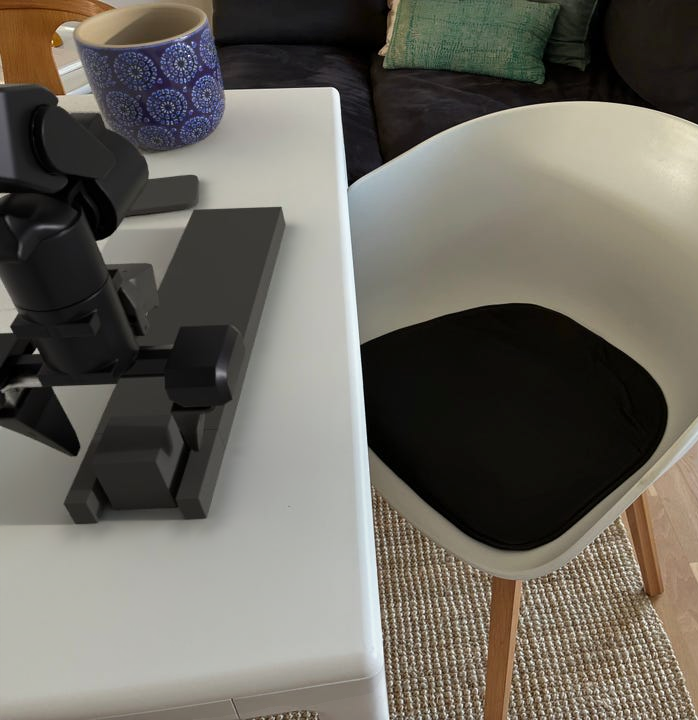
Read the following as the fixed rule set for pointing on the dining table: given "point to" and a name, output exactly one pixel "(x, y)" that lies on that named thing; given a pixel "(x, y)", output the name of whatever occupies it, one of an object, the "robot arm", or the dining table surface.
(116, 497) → the pad block
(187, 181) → the phone
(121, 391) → the base pad
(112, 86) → the planter
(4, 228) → the robot arm
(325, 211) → the dining table surface
